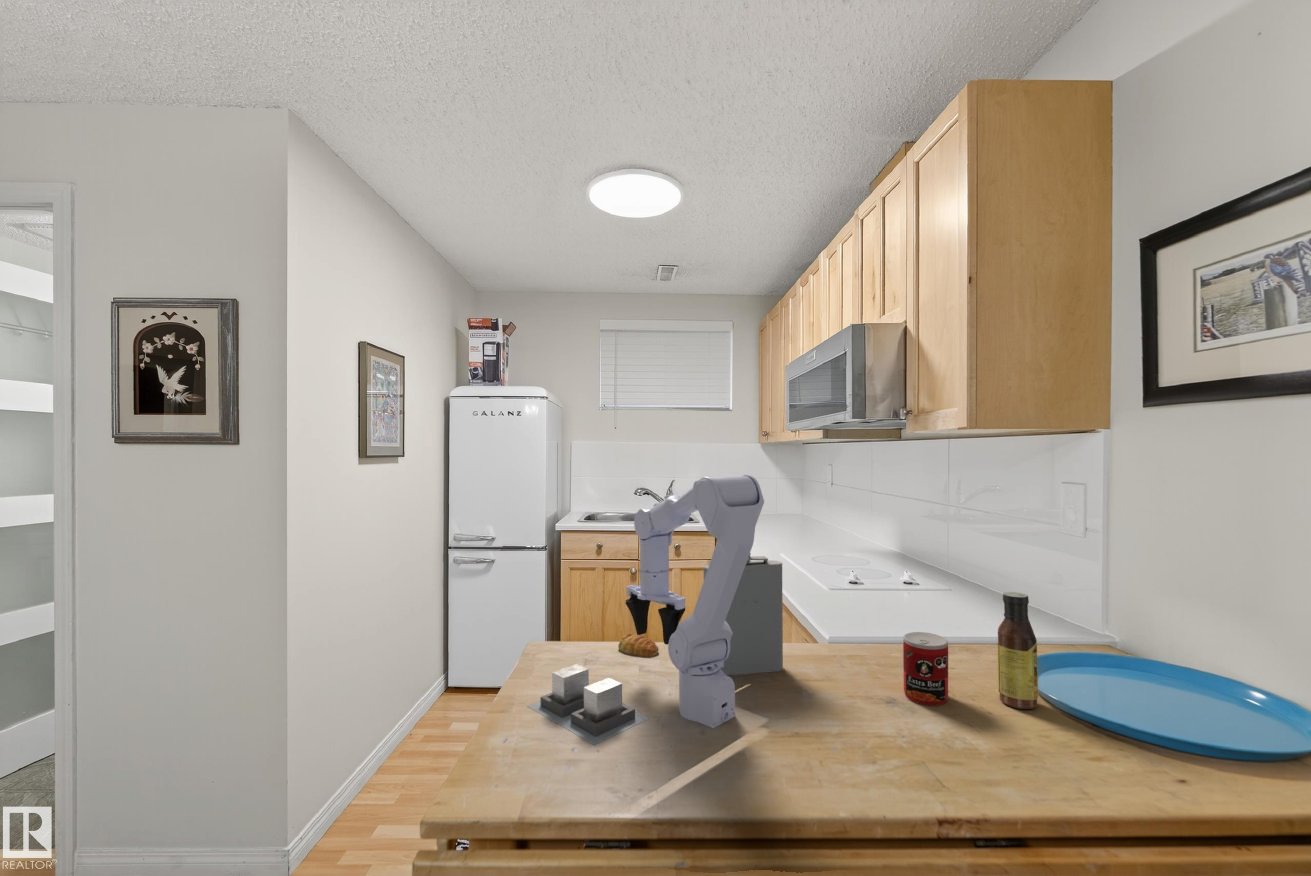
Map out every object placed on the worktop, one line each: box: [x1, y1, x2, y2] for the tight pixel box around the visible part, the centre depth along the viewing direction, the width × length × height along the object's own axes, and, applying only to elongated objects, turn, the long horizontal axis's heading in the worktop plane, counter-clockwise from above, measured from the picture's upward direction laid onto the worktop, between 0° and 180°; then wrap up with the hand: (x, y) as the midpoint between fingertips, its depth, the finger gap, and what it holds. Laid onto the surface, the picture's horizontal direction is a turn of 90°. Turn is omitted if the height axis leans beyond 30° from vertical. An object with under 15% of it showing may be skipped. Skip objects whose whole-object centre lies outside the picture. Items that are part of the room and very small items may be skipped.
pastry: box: [617, 632, 660, 658], centre depth 135 cm, size 9×7×4 cm
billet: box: [584, 677, 623, 723], centre depth 100 cm, size 4×6×6 cm, turn 135°
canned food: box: [902, 631, 949, 706], centre depth 111 cm, size 8×8×11 cm
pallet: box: [527, 692, 650, 746], centre depth 103 cm, size 19×12×3 cm, turn 45°
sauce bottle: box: [996, 591, 1039, 710], centre depth 108 cm, size 7×6×20 cm
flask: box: [702, 552, 784, 677], centre depth 124 cm, size 17×5×25 cm, turn 106°
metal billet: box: [551, 663, 590, 706], centre depth 106 cm, size 4×6×6 cm, turn 135°
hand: (655, 638), depth 117 cm, fingers open, 7 cm apart
